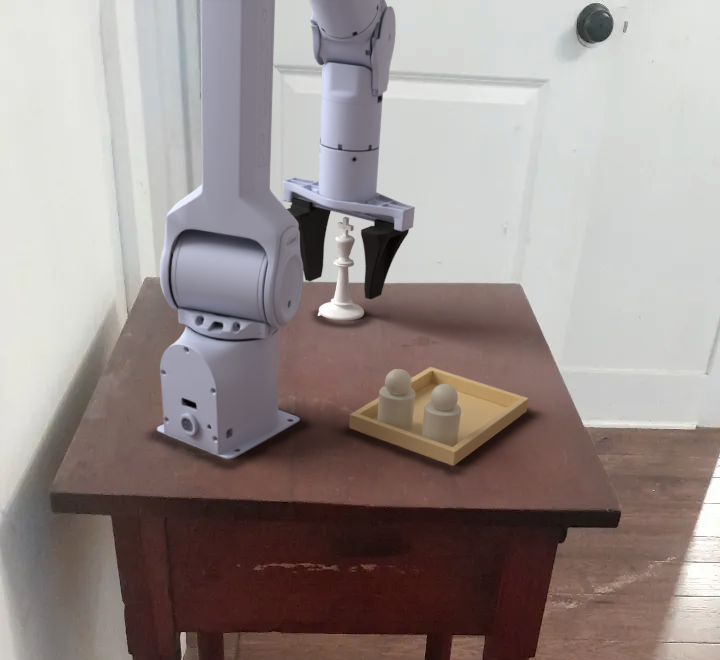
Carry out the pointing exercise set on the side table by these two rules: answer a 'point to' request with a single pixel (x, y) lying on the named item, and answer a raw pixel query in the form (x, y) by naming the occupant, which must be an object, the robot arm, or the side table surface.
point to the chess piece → (342, 280)
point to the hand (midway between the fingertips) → (342, 287)
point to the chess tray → (477, 421)
